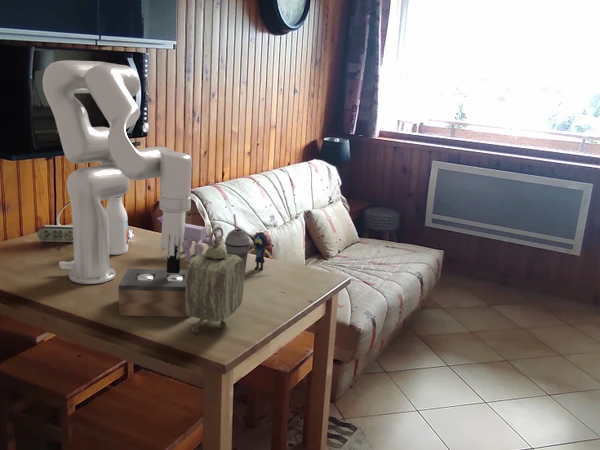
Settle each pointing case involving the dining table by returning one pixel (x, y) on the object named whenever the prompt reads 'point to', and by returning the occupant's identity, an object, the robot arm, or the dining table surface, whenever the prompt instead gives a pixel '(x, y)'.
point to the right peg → (175, 278)
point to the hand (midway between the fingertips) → (173, 271)
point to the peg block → (152, 294)
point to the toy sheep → (194, 239)
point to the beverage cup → (238, 243)
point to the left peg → (145, 277)
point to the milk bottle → (117, 226)
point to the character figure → (260, 250)
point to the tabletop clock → (214, 284)
